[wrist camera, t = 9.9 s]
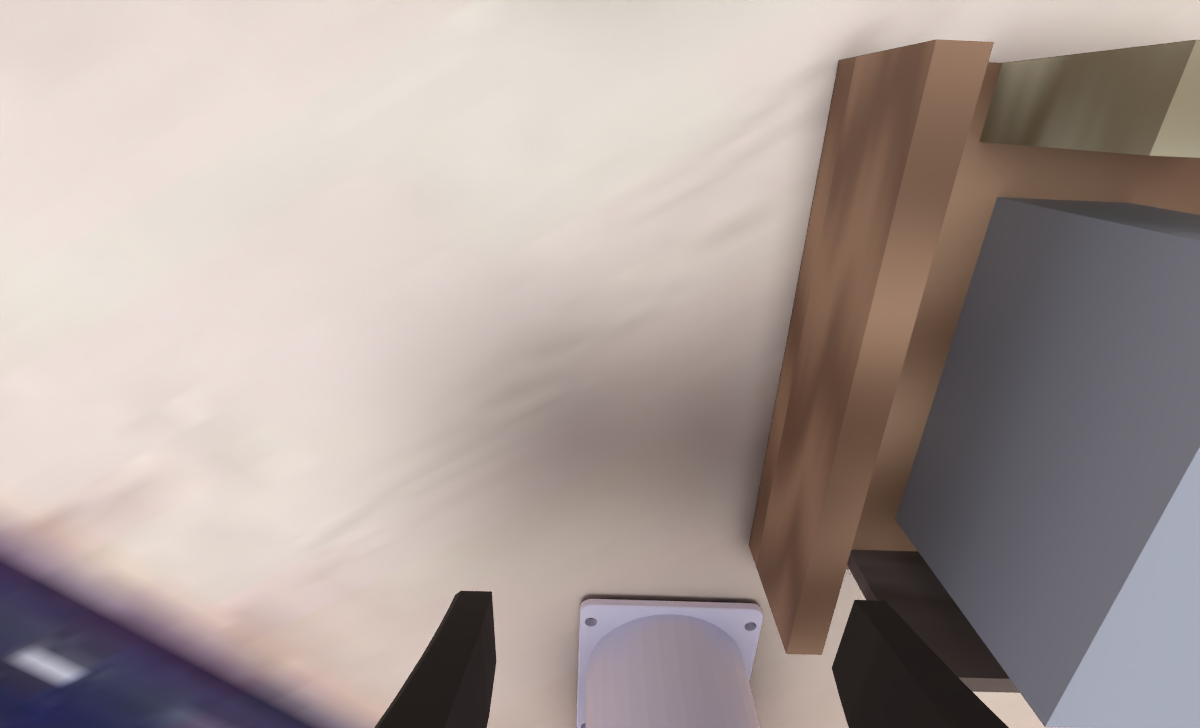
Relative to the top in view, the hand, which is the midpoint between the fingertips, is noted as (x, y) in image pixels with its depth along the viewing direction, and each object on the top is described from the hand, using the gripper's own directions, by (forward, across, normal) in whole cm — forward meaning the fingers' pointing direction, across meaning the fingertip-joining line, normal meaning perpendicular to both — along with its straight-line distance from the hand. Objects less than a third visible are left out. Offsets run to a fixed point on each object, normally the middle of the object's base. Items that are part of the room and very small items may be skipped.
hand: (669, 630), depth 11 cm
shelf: (+10, -12, -2) cm, 16 cm away
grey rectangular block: (+9, -12, -1) cm, 15 cm away
